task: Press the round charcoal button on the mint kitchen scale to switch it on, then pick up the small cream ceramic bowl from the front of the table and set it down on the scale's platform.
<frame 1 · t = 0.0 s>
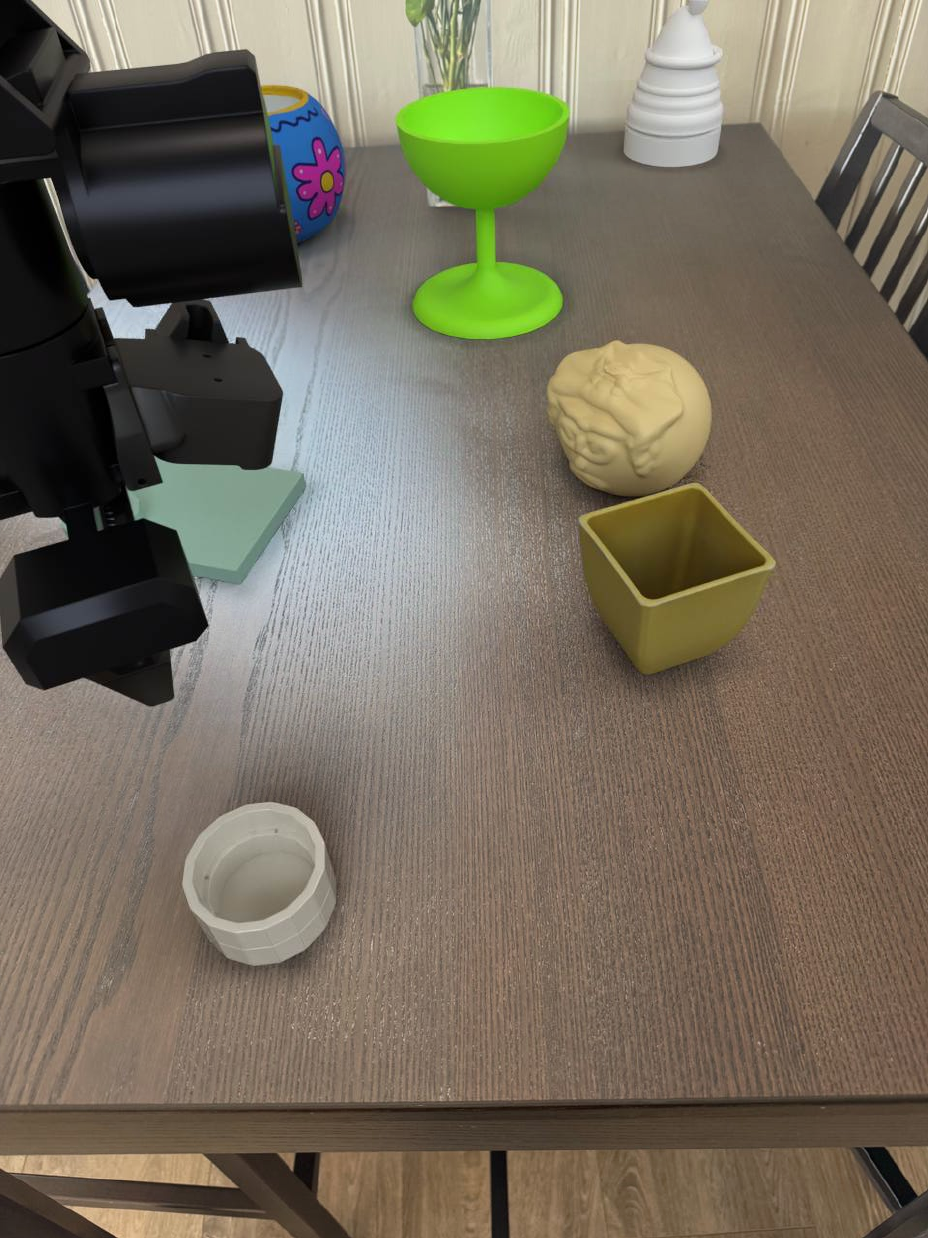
hand: (144, 630, 41), 14 cm above the table, tool pointing down, fingers open, 9 cm apart
flower pot: (656, 642, 58), on the table
ceramic pot: (283, 238, 106), on the table
bowl: (272, 904, 46), on the table
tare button: (98, 507, 65), point 3 cm above the table, slide at 0.1 cm
scale: (195, 519, 69), on the table
sculpture: (625, 472, 71), on the table
wineglass: (487, 303, 93), on the table
honey pot: (669, 151, 121), on the table
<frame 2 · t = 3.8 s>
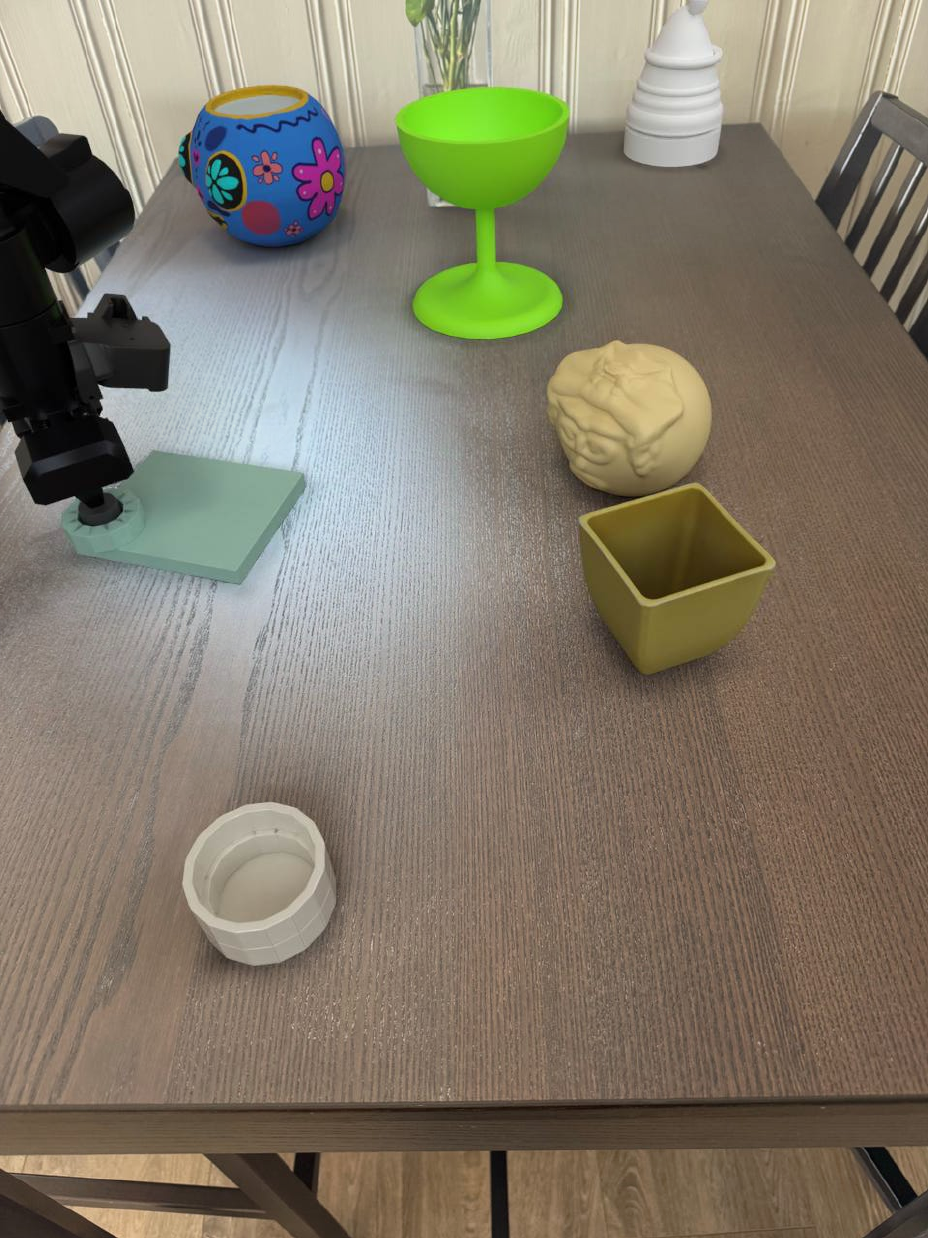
hand: (96, 504, 65), 4 cm above the table, tool pointing down, fingers closed, pressing on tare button
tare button: (100, 511, 66), point 3 cm above the table, slide at -0.3 cm, touching gripper
everything else where it was.
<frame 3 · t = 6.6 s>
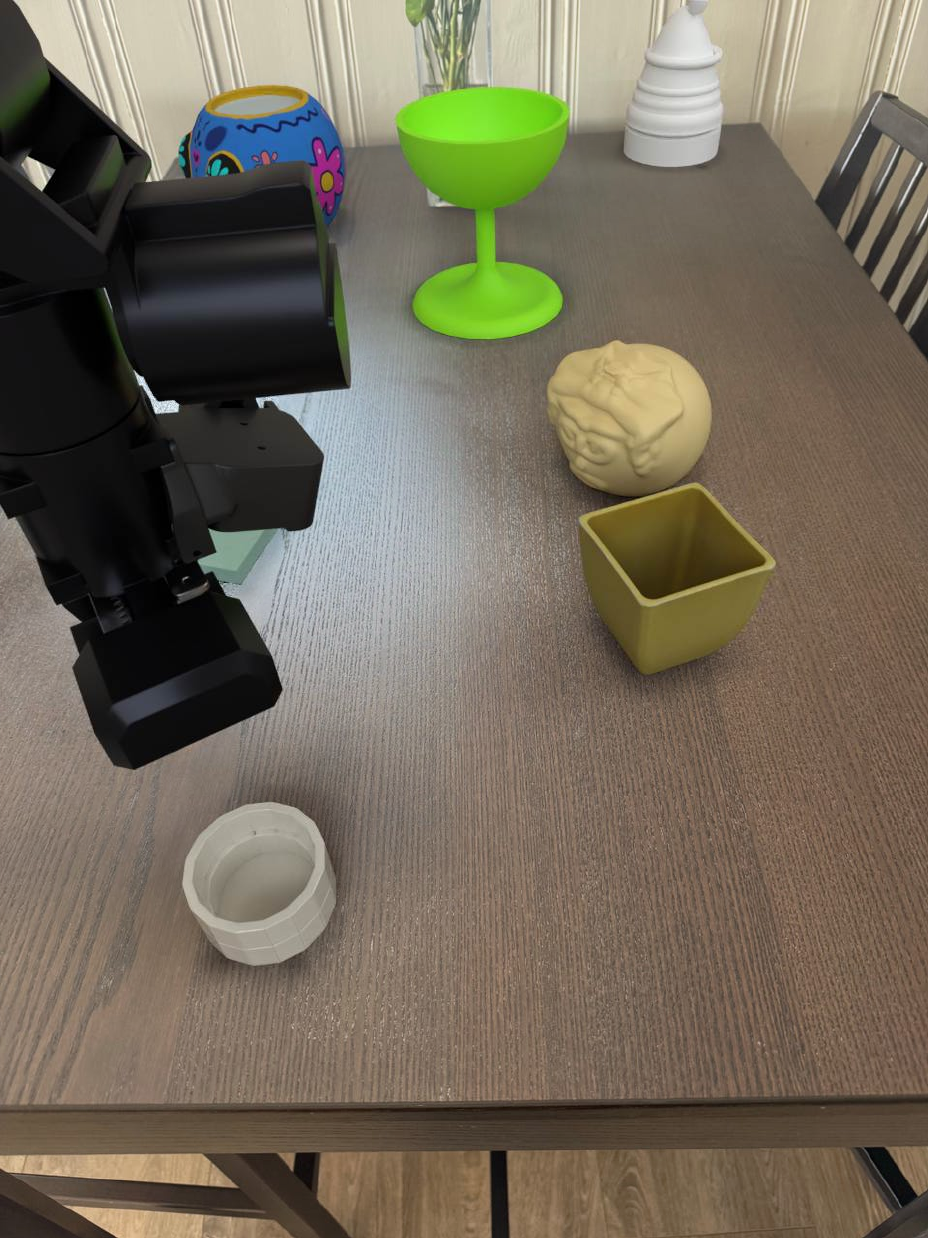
hand: (185, 692, 41), 12 cm above the table, tool pointing down, fingers closed
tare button: (98, 507, 65), point 3 cm above the table, slide at 0.1 cm
everything else where it was.
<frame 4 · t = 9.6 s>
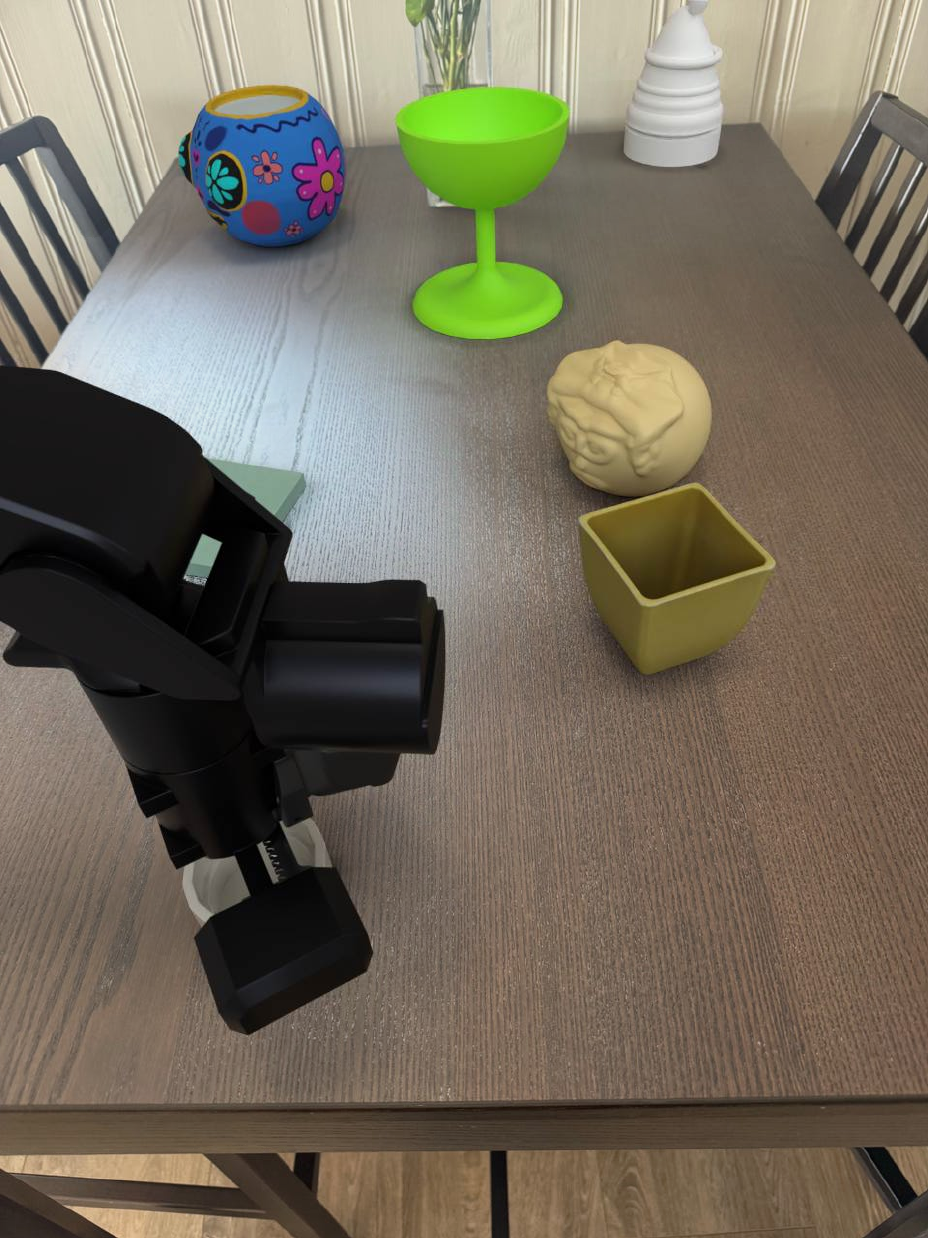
hand: (268, 895, 46), 1 cm above the table, tool pointing down, fingers closed on bowl, 7 cm apart
bowl: (272, 904, 46), on the table, touching gripper
everything else where it was.
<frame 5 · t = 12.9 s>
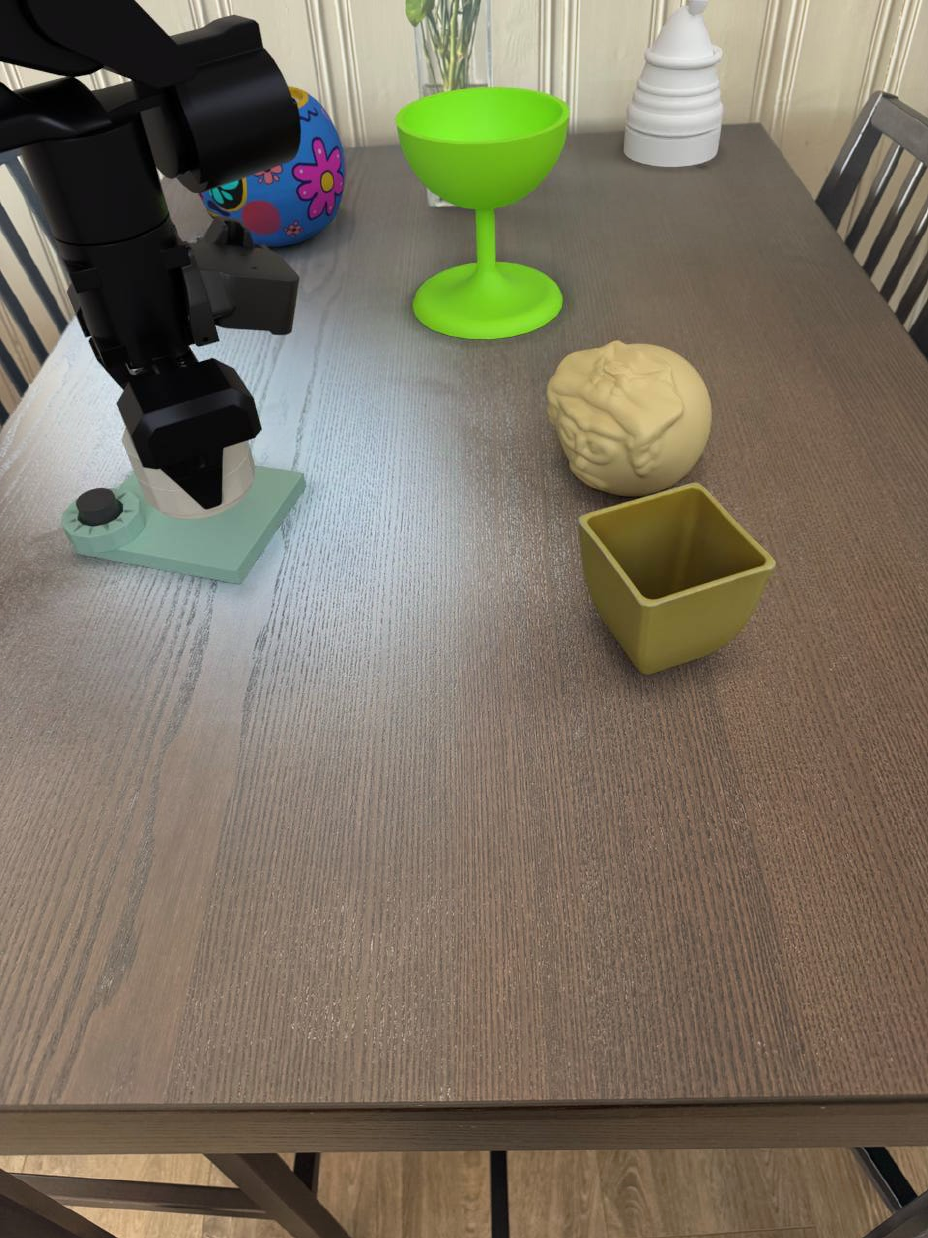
hand: (196, 474, 55), 11 cm above the table, tool pointing down, fingers closed on bowl, 7 cm apart
bowl: (202, 487, 55), point 10 cm above the table, touching gripper
everything else where it was.
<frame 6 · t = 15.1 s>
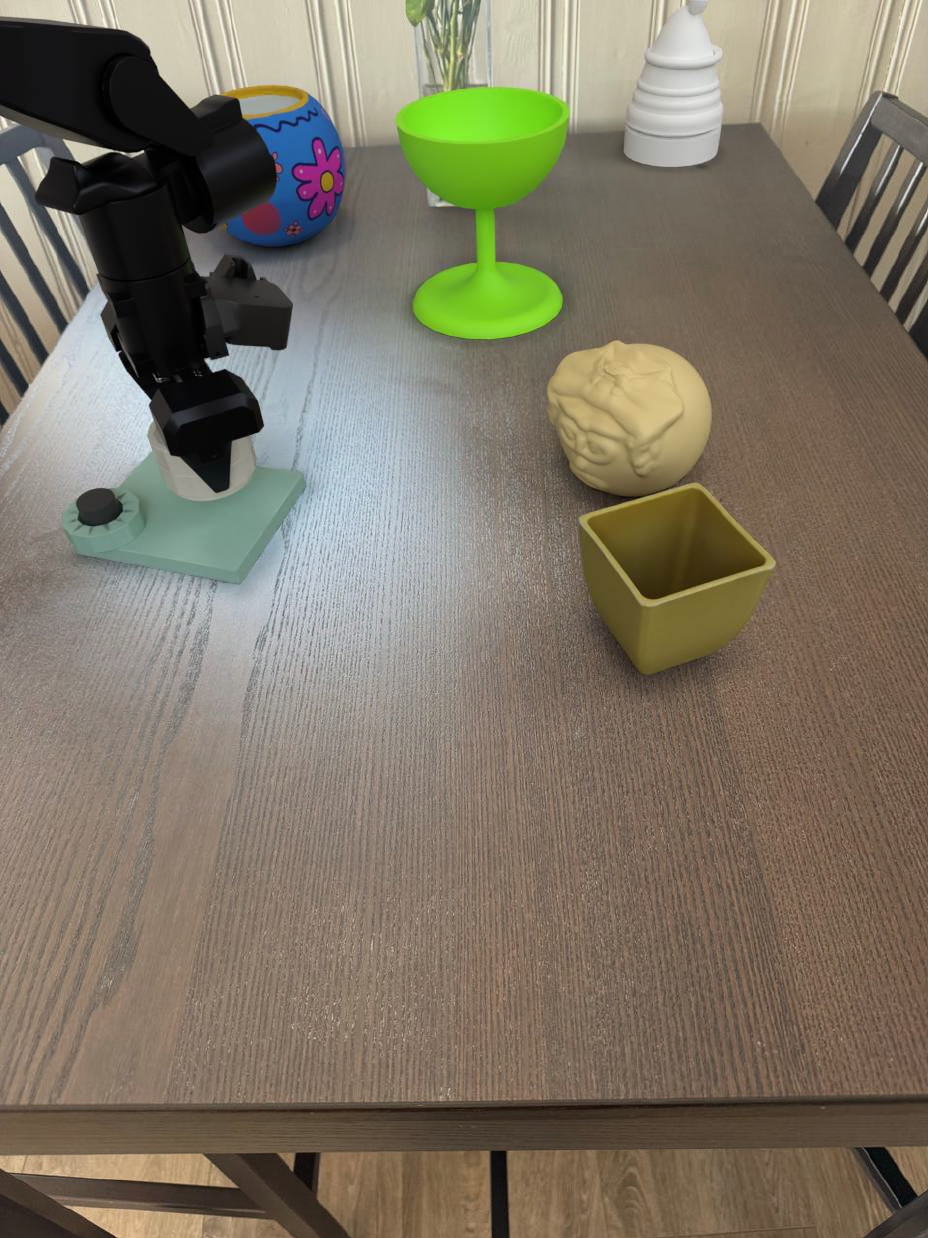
hand: (207, 464, 66), 5 cm above the table, tool pointing down, fingers closed on bowl, 7 cm apart
bowl: (212, 475, 67), point 4 cm above the table, touching gripper
everything else where it was.
when the fingers open (2 cm above the table, at t = 16.5 s): bowl stays where it is, resting on scale.
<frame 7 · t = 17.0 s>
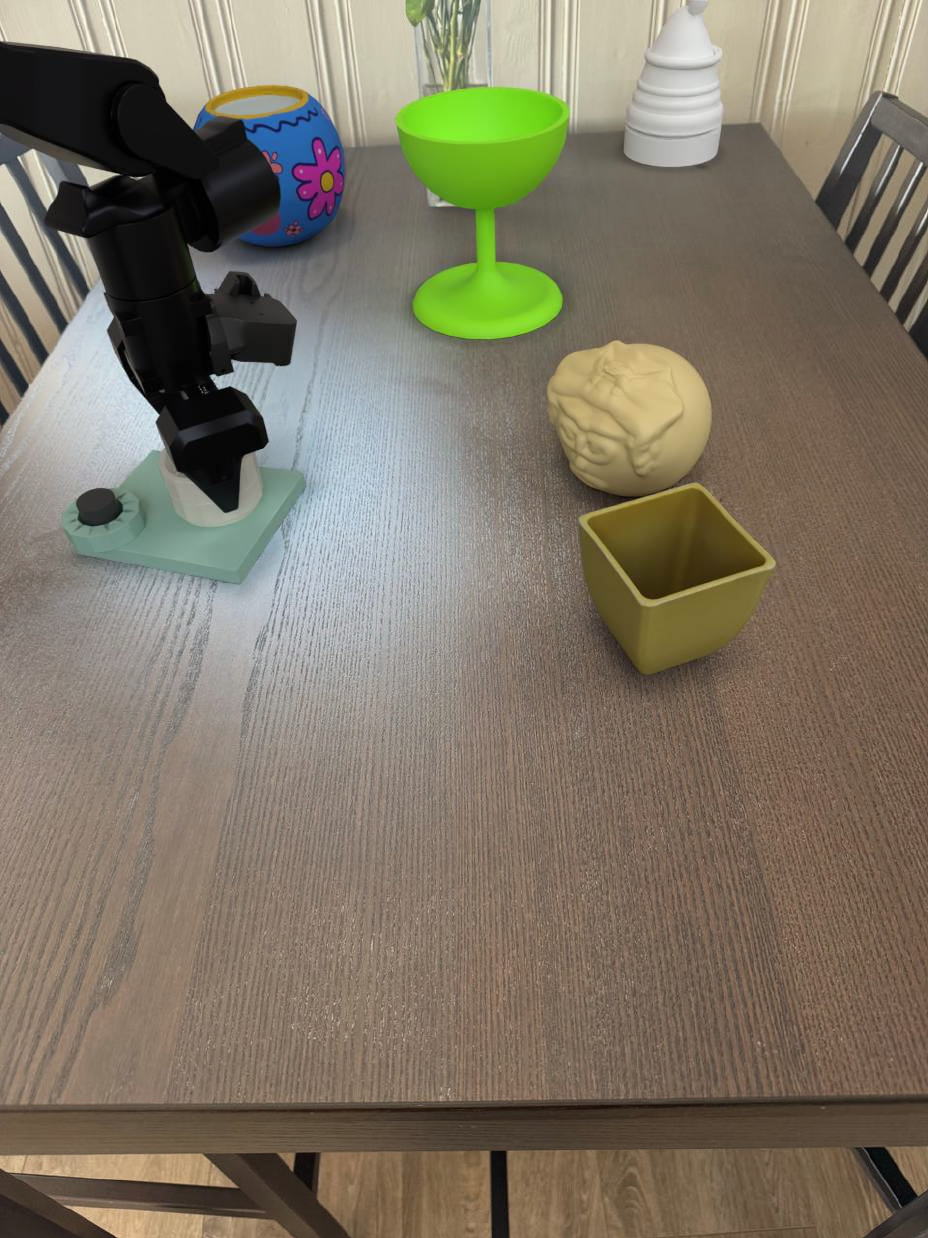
hand: (212, 477, 67), 4 cm above the table, tool pointing down, fingers open, 9 cm apart
bowl: (220, 501, 68), point 1 cm above the table, touching scale
everything else where it was.
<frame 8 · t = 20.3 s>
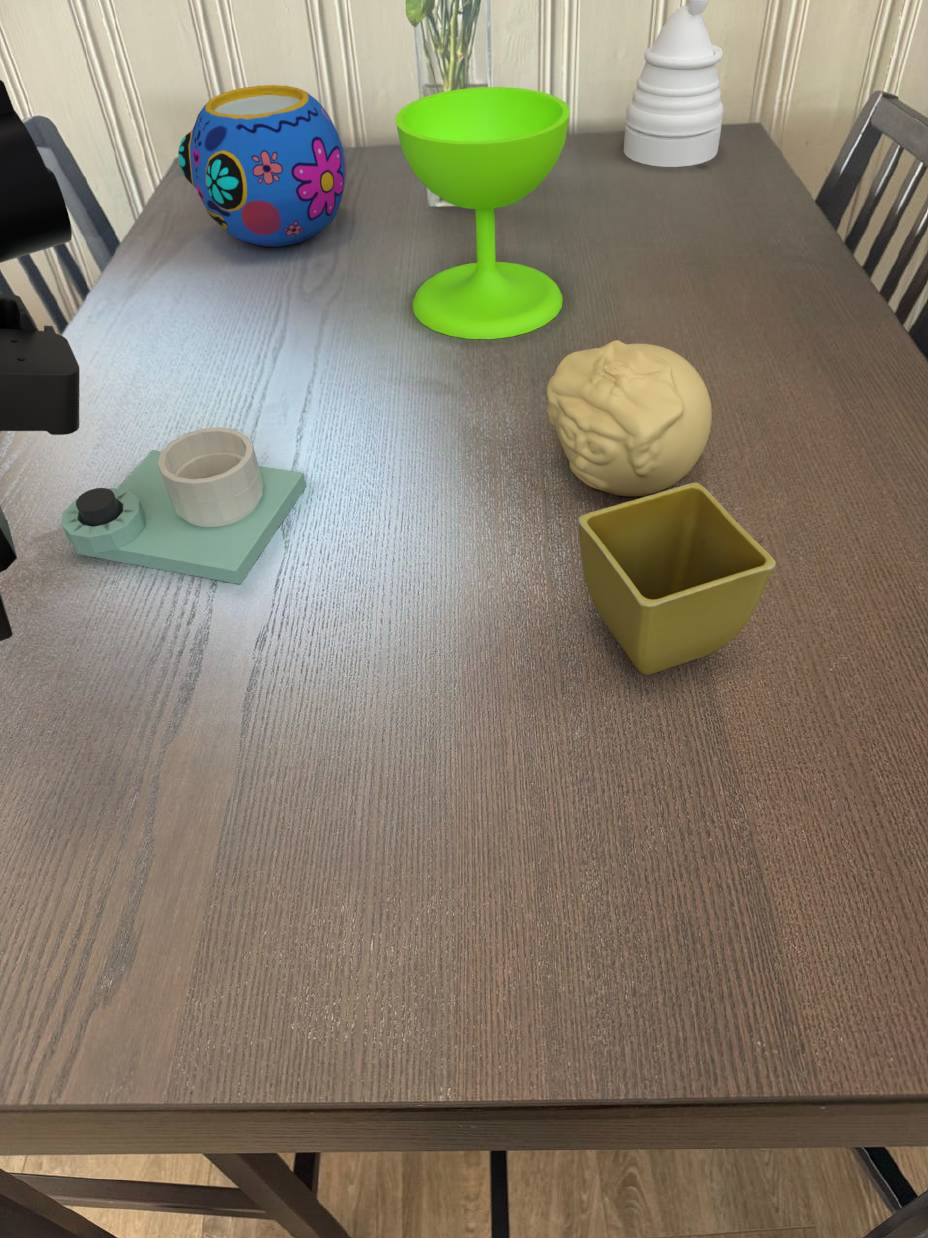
nothing on the table moved.
at the end: bowl inside the target area on the scale (1.3 cm from its centre), point 1.4 cm above the scale's base; bowl touching scale; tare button pushed in 0.9 cm at the most during the clip, back to where it started at the end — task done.
